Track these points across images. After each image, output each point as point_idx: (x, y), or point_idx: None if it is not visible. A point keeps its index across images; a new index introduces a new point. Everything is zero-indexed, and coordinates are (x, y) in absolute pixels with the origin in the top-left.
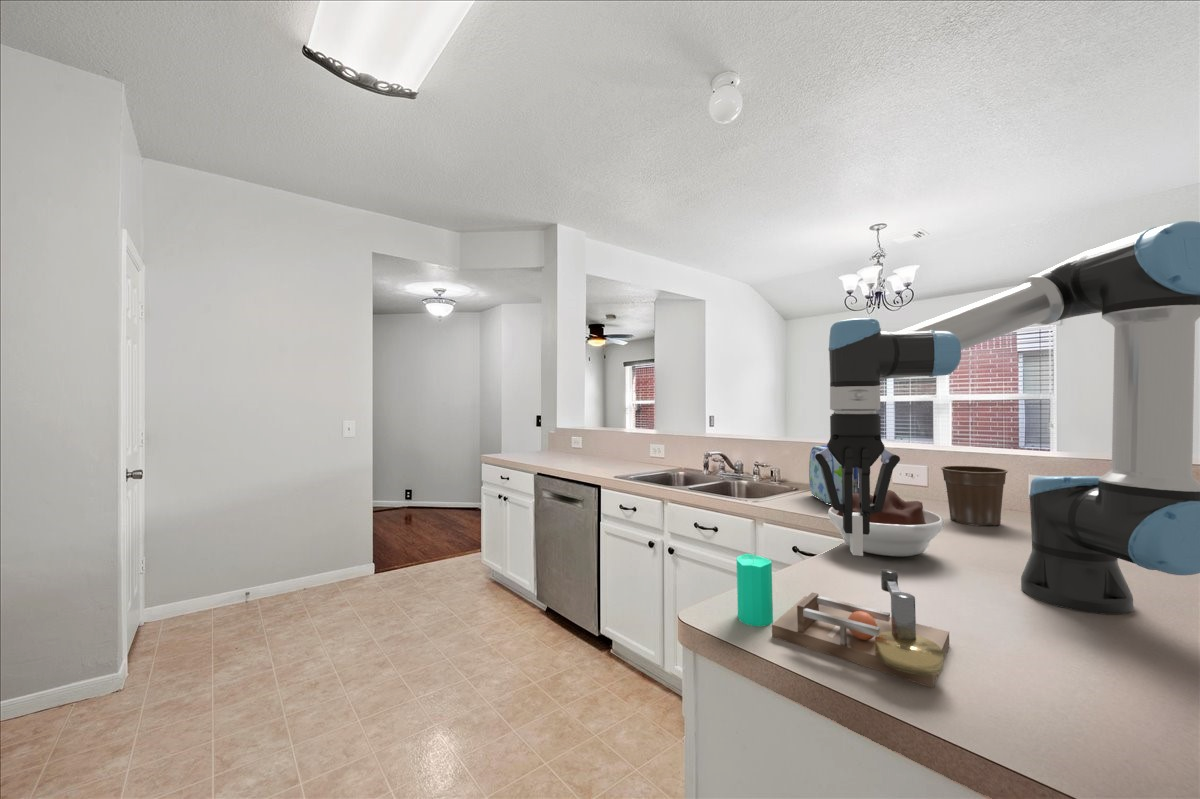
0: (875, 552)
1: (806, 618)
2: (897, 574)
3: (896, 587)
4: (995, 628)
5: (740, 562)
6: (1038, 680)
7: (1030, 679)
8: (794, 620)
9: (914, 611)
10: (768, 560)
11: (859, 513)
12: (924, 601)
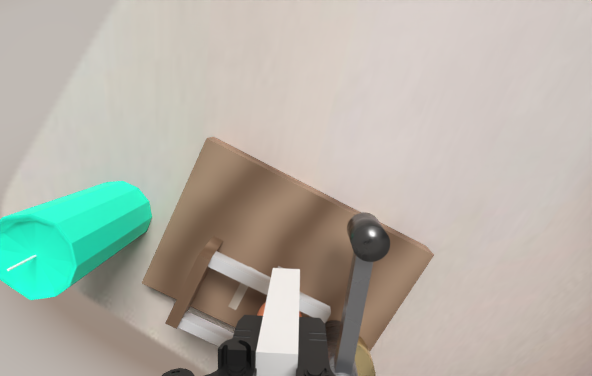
0: None
1: (191, 302)
2: (387, 250)
3: (361, 303)
4: (543, 165)
5: (1, 276)
6: (494, 325)
7: (485, 324)
8: (179, 261)
9: None
10: (68, 248)
11: (295, 368)
12: (473, 48)
